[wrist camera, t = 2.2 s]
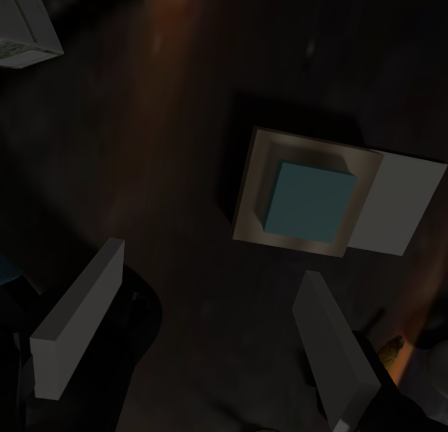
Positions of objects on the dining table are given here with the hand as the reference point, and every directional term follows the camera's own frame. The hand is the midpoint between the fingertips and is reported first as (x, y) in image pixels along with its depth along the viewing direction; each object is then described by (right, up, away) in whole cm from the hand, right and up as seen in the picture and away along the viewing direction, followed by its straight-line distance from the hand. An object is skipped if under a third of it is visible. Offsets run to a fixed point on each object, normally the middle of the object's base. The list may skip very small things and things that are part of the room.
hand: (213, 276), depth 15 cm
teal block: (+10, +5, +17) cm, 20 cm away
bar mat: (+22, +5, +22) cm, 31 cm away
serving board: (+10, +7, +21) cm, 24 cm away
